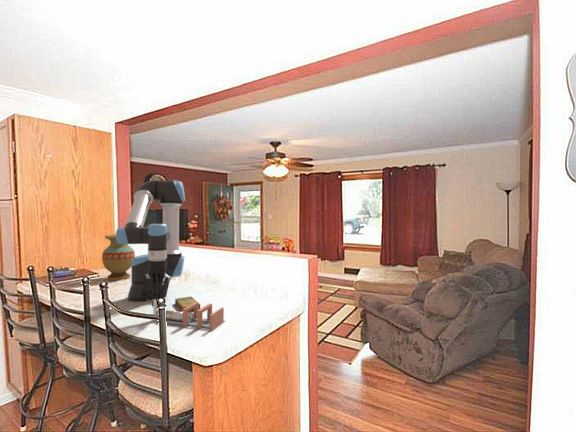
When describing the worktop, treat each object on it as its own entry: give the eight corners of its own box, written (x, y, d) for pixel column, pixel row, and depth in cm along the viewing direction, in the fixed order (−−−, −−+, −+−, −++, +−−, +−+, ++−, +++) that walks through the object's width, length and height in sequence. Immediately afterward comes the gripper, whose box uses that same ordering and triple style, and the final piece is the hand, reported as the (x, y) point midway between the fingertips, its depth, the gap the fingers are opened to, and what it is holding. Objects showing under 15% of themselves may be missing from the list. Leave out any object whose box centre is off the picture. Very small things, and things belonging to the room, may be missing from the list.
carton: (182, 316, 138) (182, 306, 138) (174, 306, 152) (174, 298, 152) (200, 312, 143) (200, 303, 143) (191, 303, 156) (191, 295, 156)
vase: (116, 282, 197) (116, 237, 196) (95, 280, 204) (95, 235, 203) (141, 276, 215) (141, 234, 215) (120, 274, 222) (120, 233, 222)
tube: (155, 320, 129) (155, 311, 128) (161, 317, 132) (161, 308, 132) (188, 324, 124) (188, 314, 124) (194, 321, 128) (194, 311, 128)
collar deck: (154, 327, 124) (154, 307, 124) (172, 317, 136) (172, 299, 136) (211, 334, 118) (211, 313, 117) (225, 323, 129) (225, 304, 129)
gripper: (138, 260, 128) (137, 315, 128) (164, 261, 125) (164, 318, 125) (150, 257, 135) (150, 310, 136) (175, 259, 132) (175, 312, 132)
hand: (156, 314), depth 130 cm, fingers closed
